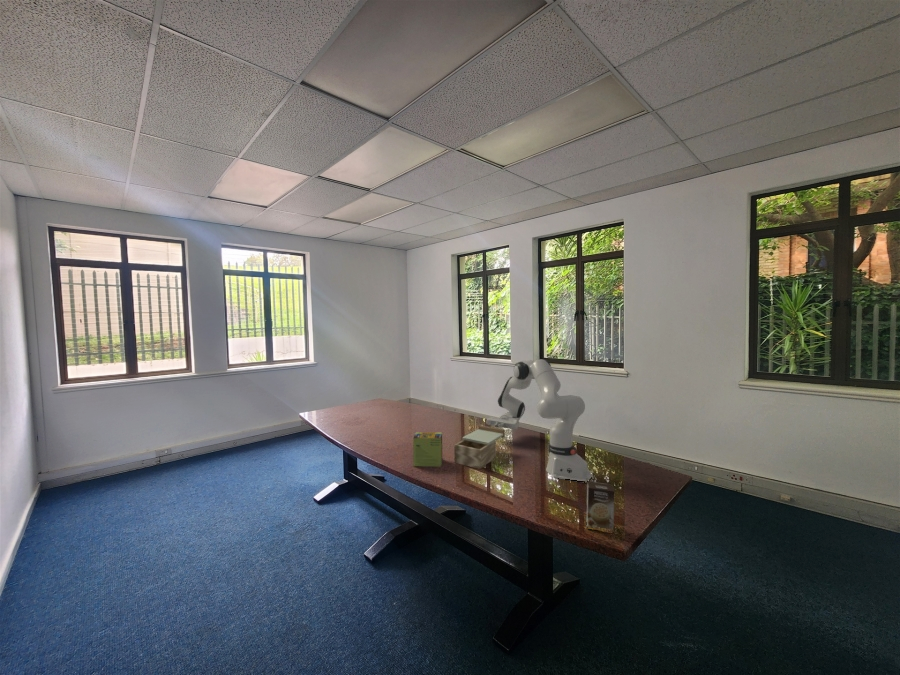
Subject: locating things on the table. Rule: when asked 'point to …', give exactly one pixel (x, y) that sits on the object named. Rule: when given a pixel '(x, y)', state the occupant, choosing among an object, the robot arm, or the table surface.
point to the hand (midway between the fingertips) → (496, 426)
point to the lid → (485, 435)
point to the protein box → (427, 449)
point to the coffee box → (600, 505)
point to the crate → (474, 453)
